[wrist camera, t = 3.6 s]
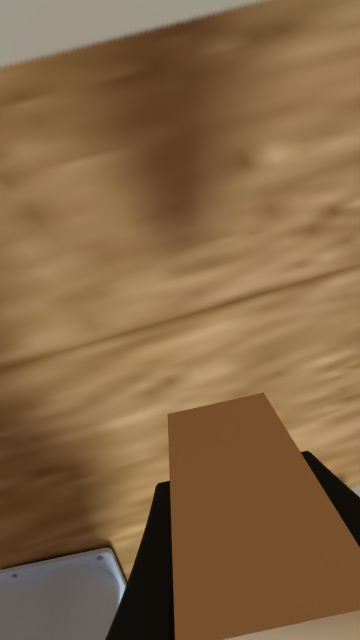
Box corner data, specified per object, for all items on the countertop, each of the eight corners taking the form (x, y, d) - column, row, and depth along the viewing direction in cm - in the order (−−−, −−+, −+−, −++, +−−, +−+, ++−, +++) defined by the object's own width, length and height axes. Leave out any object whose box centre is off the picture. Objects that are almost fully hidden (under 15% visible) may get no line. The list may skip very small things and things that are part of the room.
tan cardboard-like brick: (187, 487, 11) (214, 752, 6) (167, 414, 10) (175, 650, 4) (274, 468, 11) (390, 714, 6) (263, 392, 10) (393, 602, 4)
